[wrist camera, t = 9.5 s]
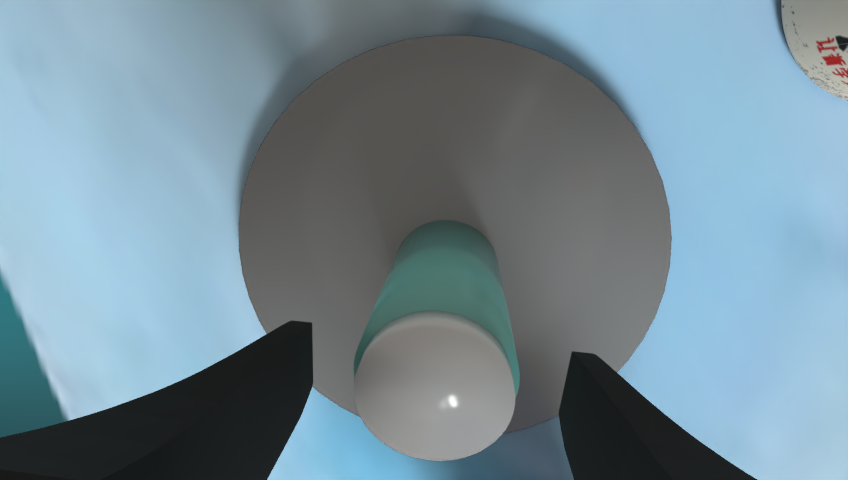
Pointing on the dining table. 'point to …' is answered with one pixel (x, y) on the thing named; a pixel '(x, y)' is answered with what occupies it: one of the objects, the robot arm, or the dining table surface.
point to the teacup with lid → (819, 41)
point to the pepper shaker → (439, 348)
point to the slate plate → (459, 204)
